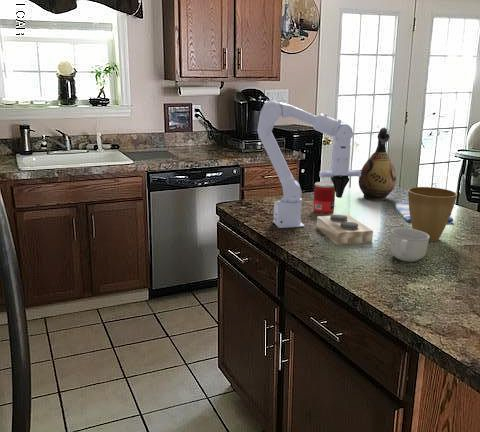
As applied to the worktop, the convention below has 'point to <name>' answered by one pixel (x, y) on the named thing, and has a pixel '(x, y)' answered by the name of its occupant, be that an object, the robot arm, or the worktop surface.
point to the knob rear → (338, 218)
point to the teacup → (408, 244)
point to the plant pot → (430, 209)
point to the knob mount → (344, 231)
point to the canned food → (324, 197)
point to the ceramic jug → (378, 172)
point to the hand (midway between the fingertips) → (338, 197)
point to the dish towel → (404, 211)
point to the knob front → (349, 225)
